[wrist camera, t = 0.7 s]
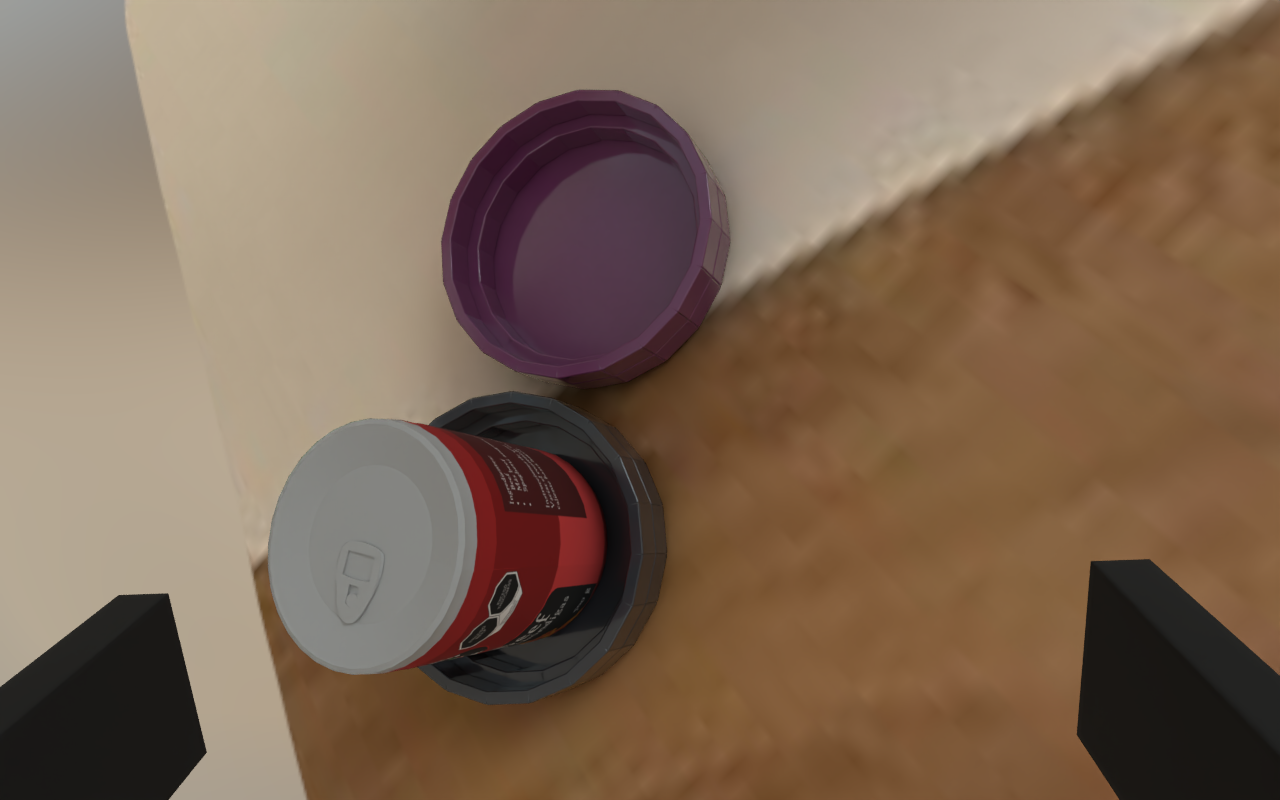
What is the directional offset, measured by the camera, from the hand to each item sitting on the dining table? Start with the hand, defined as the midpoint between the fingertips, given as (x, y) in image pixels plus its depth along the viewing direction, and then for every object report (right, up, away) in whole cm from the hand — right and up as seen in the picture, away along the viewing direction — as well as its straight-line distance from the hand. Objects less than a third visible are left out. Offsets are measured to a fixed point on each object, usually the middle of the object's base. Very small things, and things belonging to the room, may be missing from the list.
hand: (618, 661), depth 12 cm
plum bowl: (-2, +10, +26) cm, 28 cm away
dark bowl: (-4, -2, +25) cm, 25 cm away
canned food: (-4, -2, +25) cm, 25 cm away
